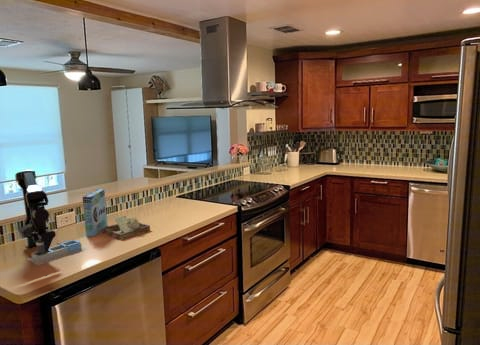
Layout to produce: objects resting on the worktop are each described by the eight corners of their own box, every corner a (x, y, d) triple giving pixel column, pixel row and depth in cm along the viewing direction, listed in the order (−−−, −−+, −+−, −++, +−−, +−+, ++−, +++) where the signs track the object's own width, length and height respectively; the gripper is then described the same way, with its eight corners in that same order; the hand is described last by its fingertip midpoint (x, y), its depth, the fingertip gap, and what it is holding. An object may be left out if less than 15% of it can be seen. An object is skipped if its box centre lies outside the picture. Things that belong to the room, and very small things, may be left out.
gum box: (100, 225, 222) (96, 189, 218) (108, 225, 222) (104, 189, 218) (85, 236, 203) (81, 196, 199) (94, 236, 203) (90, 196, 199)
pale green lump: (141, 238, 204) (144, 216, 214) (134, 231, 198) (137, 209, 208) (118, 245, 207) (122, 223, 217) (110, 239, 202) (114, 216, 212)
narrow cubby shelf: (27, 260, 171) (26, 251, 170) (75, 246, 188) (74, 237, 188) (37, 267, 163) (36, 257, 163) (86, 251, 181) (85, 242, 180)
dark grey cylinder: (36, 258, 170) (34, 240, 169) (46, 255, 174) (44, 237, 172) (40, 260, 168) (38, 242, 166) (50, 257, 171) (48, 239, 169)
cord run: (56, 245, 190) (55, 243, 190) (58, 244, 191) (58, 242, 191) (64, 249, 184) (64, 247, 184) (66, 248, 185) (66, 246, 185)
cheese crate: (102, 233, 208) (102, 228, 207) (131, 224, 222) (130, 220, 222) (121, 239, 196) (120, 234, 195) (150, 230, 210) (149, 225, 209)
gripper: (11, 218, 167) (15, 250, 170) (27, 224, 155) (32, 259, 158) (37, 212, 176) (41, 243, 178) (54, 218, 164) (58, 251, 166)
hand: (42, 249), depth 170 cm, fingers open, 9 cm apart
